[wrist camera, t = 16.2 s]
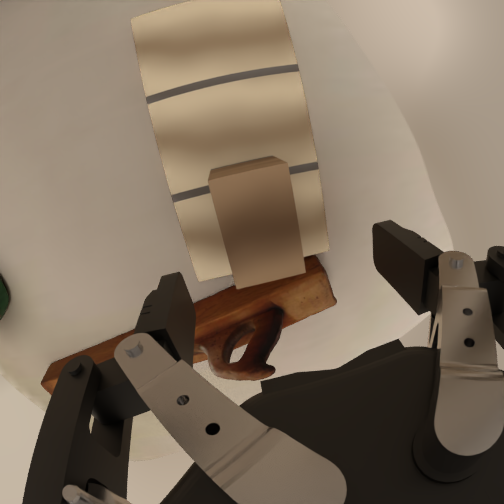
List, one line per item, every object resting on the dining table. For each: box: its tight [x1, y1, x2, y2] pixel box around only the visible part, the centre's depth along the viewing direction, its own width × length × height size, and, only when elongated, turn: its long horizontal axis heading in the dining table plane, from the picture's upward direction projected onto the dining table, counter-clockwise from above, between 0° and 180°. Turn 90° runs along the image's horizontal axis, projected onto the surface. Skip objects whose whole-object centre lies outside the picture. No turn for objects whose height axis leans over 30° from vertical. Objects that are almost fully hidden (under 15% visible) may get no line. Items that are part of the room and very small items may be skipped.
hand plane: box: [41, 255, 337, 395], centre depth 23 cm, size 34×5×10 cm, turn 118°
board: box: [131, 0, 329, 282], centre depth 20 cm, size 22×11×2 cm, turn 12°
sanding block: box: [208, 155, 306, 289], centre depth 19 cm, size 7×4×5 cm, turn 12°
